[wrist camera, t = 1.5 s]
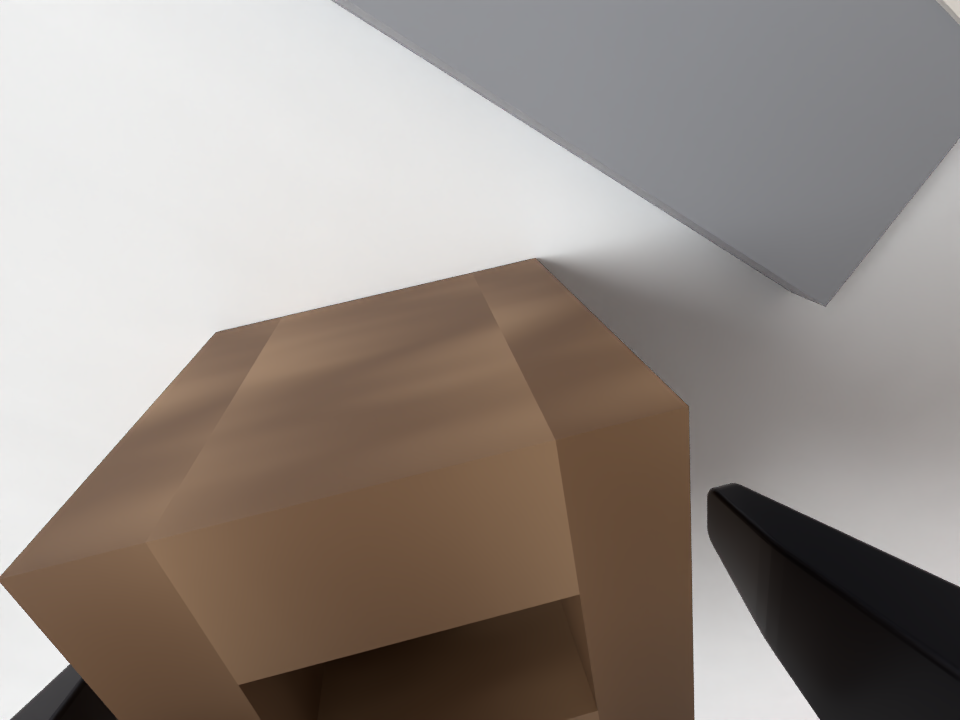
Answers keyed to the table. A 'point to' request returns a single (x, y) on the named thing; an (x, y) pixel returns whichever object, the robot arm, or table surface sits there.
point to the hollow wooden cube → (387, 522)
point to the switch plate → (722, 107)
